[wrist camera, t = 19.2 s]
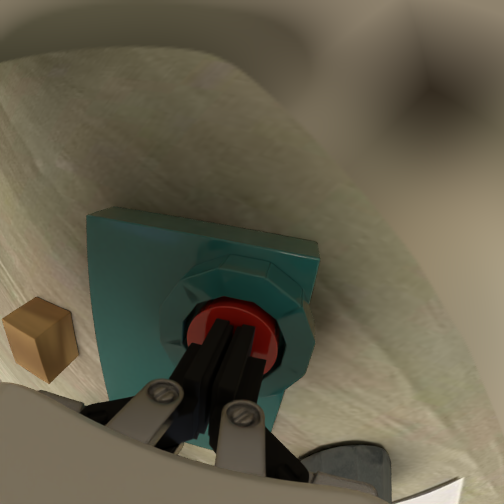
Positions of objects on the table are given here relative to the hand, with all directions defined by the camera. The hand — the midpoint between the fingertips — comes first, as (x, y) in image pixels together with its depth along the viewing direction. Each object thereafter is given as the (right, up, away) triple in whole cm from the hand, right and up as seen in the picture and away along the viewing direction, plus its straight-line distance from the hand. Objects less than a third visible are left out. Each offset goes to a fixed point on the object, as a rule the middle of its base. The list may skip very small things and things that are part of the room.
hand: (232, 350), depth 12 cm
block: (-16, -2, +9) cm, 18 cm away
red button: (0, +1, +2) cm, 2 cm away
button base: (-3, -2, +6) cm, 7 cm away
